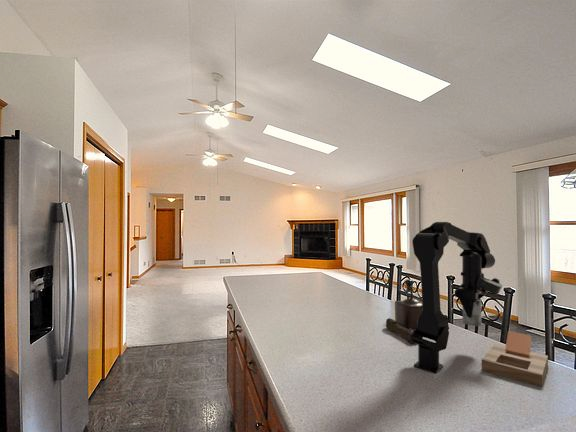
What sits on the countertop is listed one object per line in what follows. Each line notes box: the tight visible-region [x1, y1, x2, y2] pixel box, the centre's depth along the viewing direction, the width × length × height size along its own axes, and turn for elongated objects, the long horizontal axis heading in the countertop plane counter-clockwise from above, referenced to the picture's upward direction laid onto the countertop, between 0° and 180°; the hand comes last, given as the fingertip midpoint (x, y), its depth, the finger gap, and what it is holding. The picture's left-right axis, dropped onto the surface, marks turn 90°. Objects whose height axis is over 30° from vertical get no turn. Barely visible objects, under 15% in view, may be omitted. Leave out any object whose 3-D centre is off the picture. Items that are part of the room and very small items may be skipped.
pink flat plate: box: [505, 330, 532, 357], centre depth 101 cm, size 7×6×1 cm
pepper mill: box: [394, 278, 423, 330], centre depth 141 cm, size 16×11×18 cm
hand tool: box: [385, 317, 416, 345], centre depth 125 cm, size 19×4×5 cm, turn 12°
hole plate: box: [481, 343, 549, 387], centre depth 97 cm, size 18×14×3 cm
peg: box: [462, 299, 482, 327], centre depth 111 cm, size 6×6×8 cm
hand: (471, 315), depth 111 cm, fingers closed on peg, 5 cm apart
